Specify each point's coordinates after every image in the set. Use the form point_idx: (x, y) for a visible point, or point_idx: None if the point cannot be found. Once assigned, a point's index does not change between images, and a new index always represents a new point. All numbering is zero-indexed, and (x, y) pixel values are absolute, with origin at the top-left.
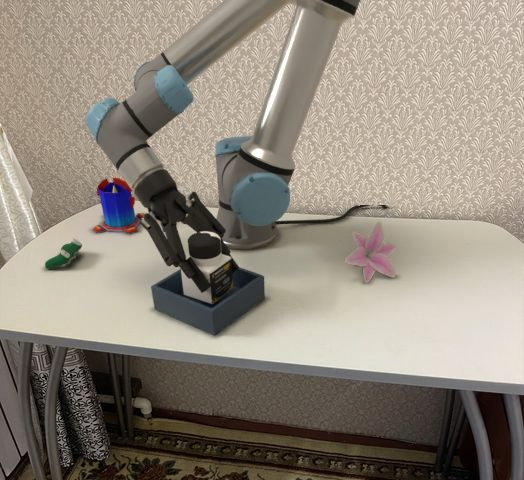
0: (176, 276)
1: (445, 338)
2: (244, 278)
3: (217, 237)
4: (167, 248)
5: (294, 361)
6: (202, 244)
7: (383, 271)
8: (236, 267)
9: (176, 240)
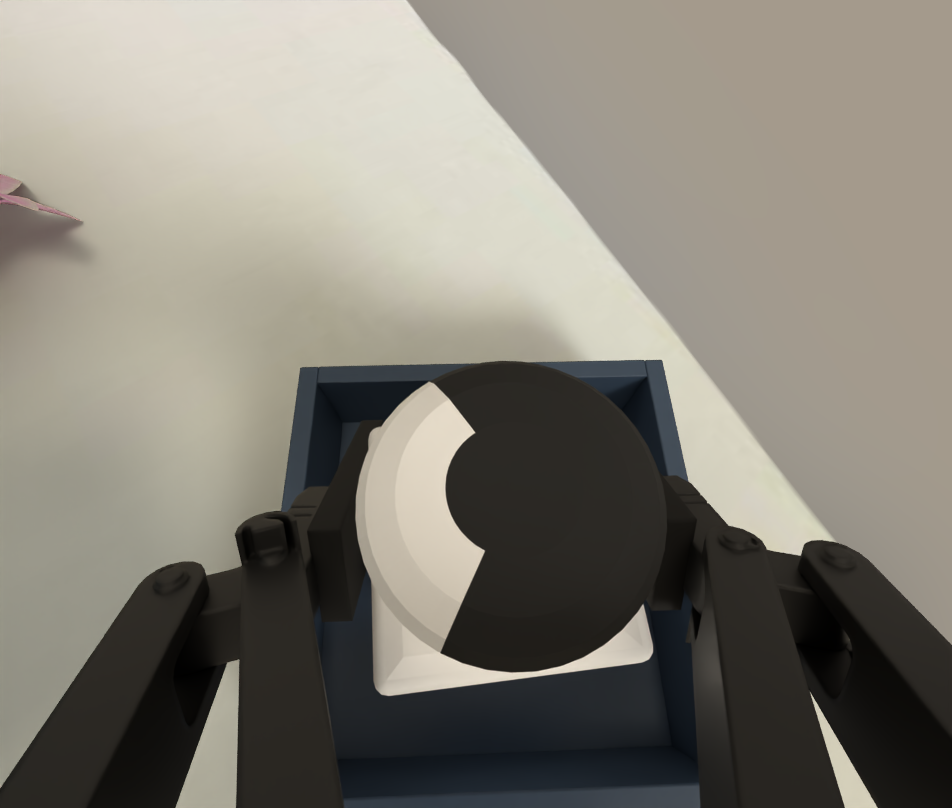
0: (551, 783)
1: (277, 26)
2: (319, 478)
3: (439, 390)
4: (923, 634)
5: (555, 187)
6: (613, 413)
7: (9, 181)
8: (377, 424)
9: (782, 666)
